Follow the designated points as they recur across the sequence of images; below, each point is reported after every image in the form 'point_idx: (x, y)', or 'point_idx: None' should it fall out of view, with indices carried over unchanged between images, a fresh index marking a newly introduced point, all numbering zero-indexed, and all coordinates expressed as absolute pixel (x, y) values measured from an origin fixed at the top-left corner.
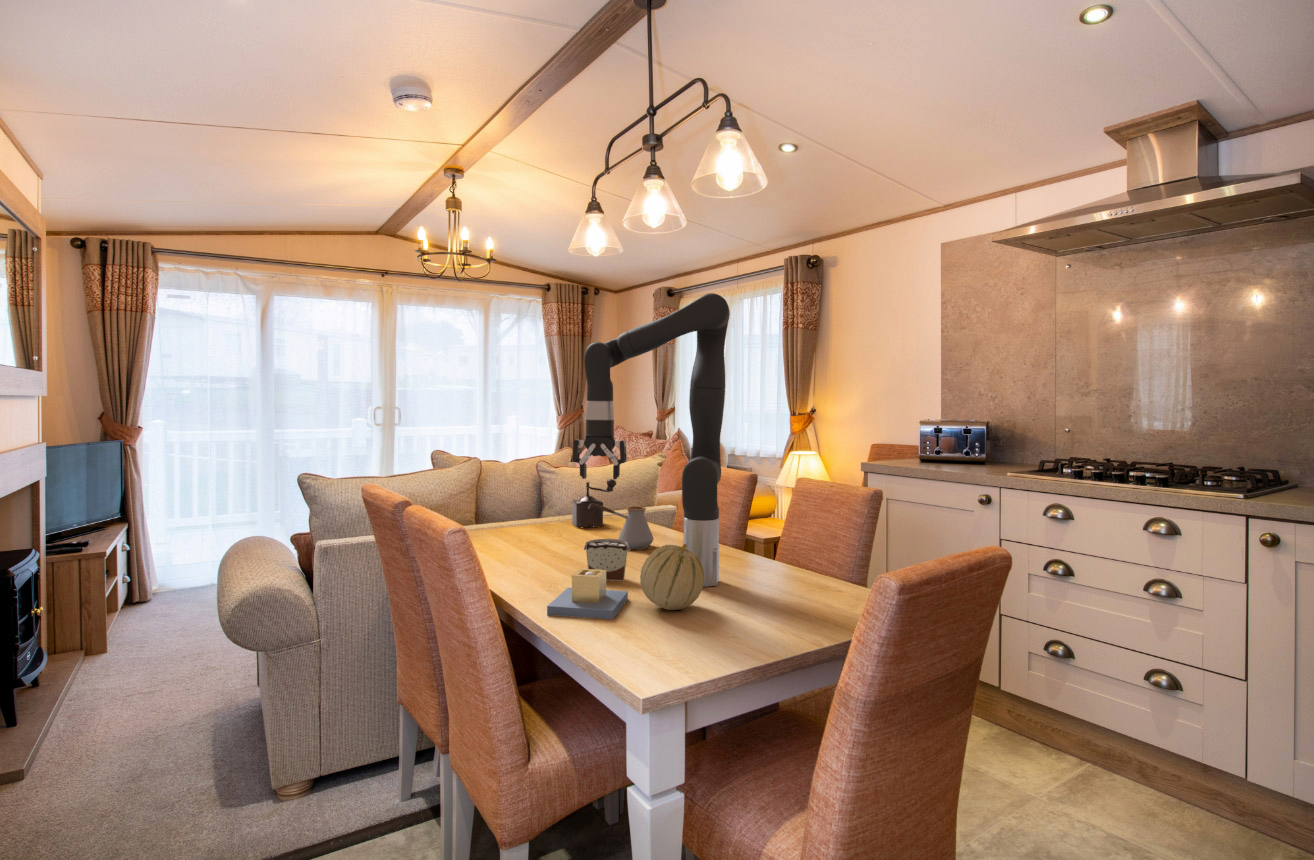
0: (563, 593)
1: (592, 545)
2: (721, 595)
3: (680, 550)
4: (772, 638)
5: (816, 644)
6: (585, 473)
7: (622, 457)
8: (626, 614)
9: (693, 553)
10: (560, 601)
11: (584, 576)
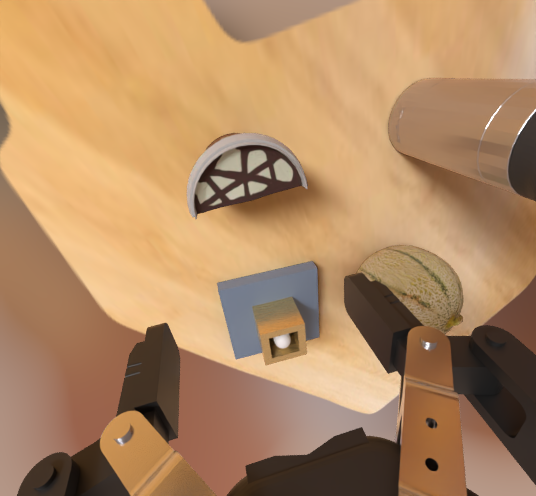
0: (228, 315)
1: (211, 207)
2: (446, 185)
3: (446, 331)
4: (473, 302)
5: (506, 299)
6: (171, 361)
7: (497, 412)
8: (326, 309)
9: (462, 305)
10: (242, 340)
11: (284, 359)
